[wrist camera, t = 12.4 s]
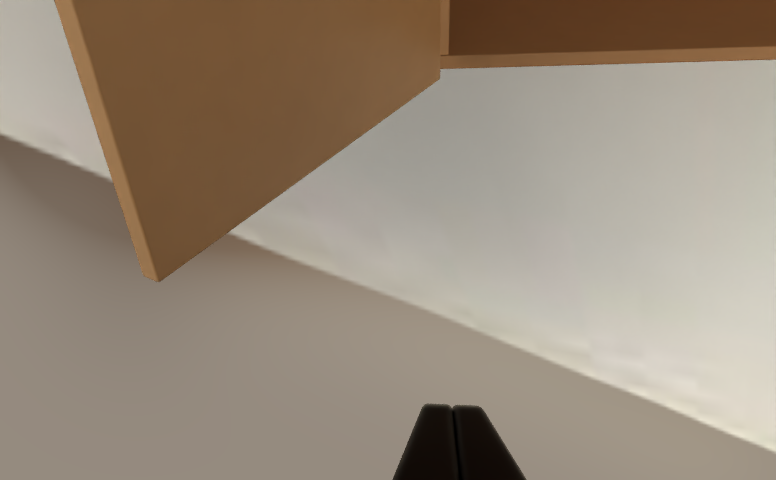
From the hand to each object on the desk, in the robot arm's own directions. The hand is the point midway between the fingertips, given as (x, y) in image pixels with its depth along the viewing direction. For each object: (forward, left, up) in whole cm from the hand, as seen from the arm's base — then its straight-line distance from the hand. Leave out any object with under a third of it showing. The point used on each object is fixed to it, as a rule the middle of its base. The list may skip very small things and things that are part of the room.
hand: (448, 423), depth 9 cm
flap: (-10, -2, -3) cm, 11 cm away
